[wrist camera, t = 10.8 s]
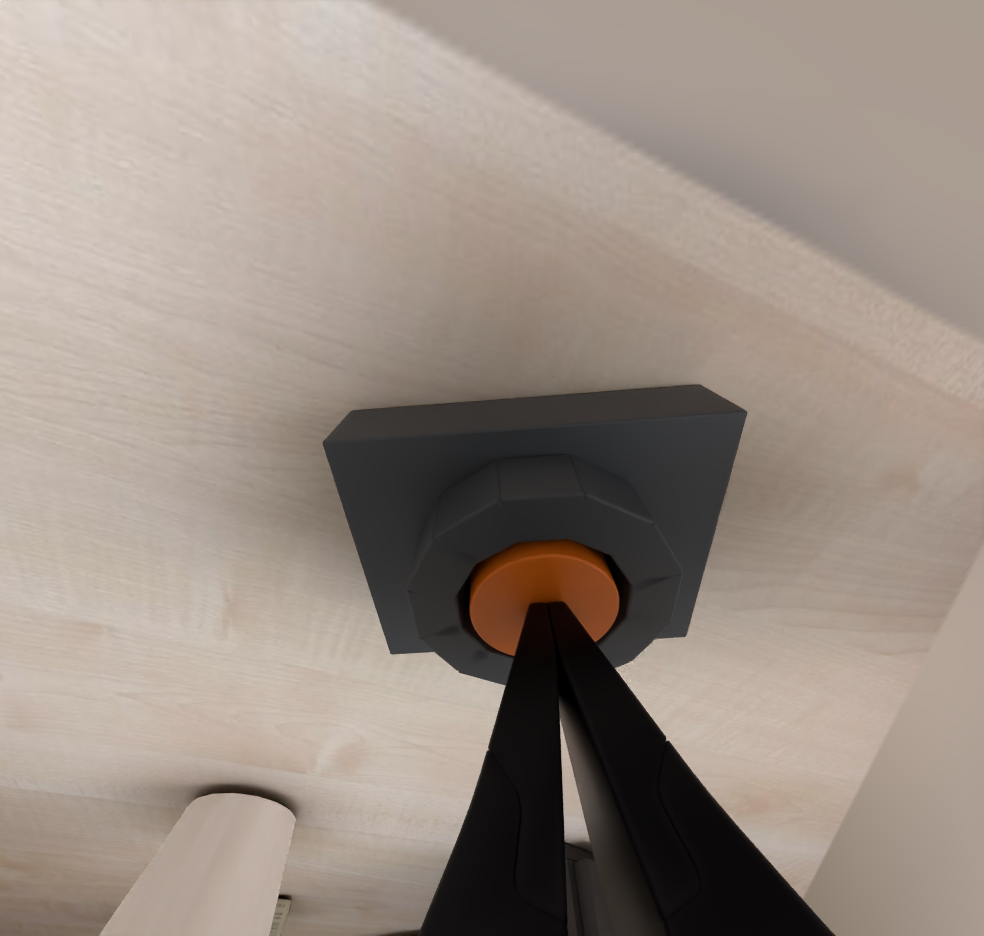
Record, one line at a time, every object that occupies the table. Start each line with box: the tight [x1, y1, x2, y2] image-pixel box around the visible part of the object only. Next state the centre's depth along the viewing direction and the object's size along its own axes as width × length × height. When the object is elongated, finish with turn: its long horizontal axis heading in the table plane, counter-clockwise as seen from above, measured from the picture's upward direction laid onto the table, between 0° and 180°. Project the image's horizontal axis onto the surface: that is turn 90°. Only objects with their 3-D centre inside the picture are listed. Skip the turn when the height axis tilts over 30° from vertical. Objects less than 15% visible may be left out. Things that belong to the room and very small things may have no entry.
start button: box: [469, 539, 619, 656], centre depth 10 cm, size 4×4×2 cm
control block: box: [323, 385, 747, 685], centre depth 11 cm, size 10×8×4 cm
